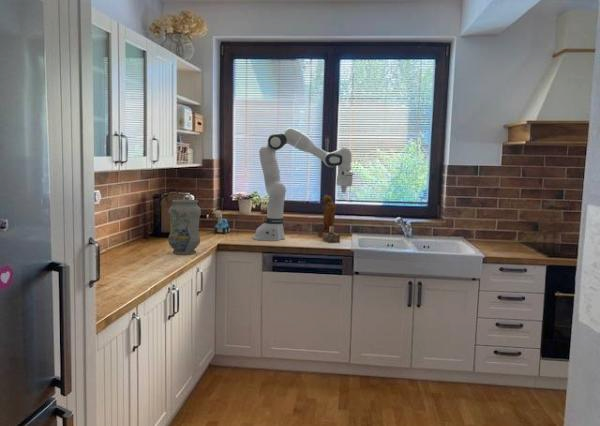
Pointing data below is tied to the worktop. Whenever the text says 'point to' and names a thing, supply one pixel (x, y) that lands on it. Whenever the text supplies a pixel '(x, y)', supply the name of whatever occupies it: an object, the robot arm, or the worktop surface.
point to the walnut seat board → (331, 237)
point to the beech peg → (331, 230)
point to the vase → (184, 226)
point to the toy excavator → (221, 224)
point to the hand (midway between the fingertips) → (343, 192)
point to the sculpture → (328, 214)
